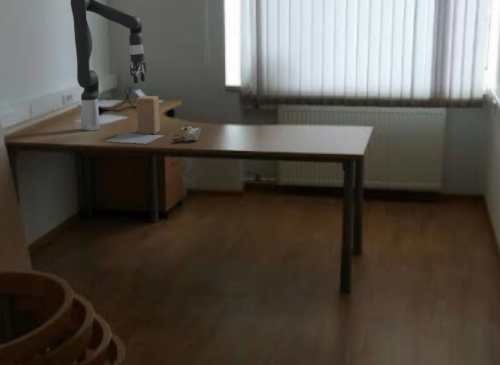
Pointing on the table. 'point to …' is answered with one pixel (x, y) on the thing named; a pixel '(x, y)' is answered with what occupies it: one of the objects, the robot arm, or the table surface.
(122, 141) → the mat
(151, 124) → the wooden block
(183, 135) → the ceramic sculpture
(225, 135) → the table surface
